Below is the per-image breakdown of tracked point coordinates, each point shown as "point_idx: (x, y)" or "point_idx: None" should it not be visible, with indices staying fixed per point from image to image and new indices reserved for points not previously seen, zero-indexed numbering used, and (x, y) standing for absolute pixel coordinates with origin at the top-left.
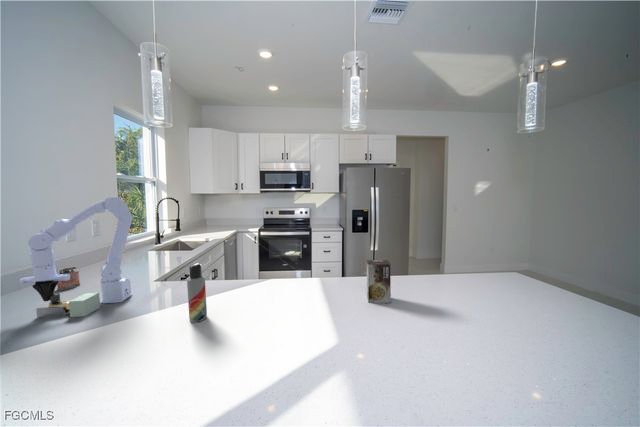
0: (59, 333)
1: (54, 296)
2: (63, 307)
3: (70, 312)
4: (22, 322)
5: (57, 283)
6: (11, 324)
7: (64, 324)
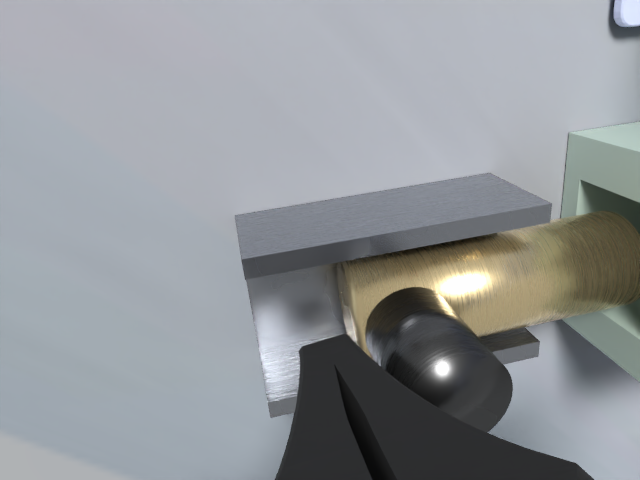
0: (636, 476)
1: (483, 421)
2: (536, 349)
3: (585, 334)
4: (220, 425)
5: (533, 455)
6: (161, 460)
7: (590, 400)
